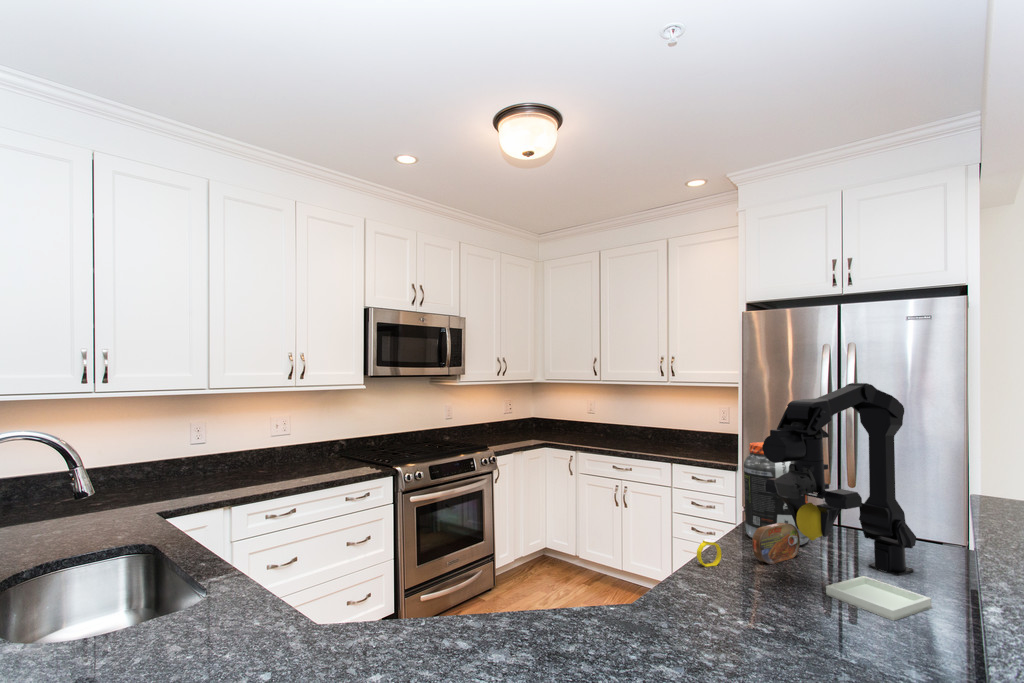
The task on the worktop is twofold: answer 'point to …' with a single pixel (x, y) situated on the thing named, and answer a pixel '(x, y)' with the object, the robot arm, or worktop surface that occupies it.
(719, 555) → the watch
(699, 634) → the worktop surface
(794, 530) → the tin
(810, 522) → the lemon
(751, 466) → the supplement tub
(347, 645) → the worktop surface
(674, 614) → the worktop surface
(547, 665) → the worktop surface
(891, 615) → the tray
